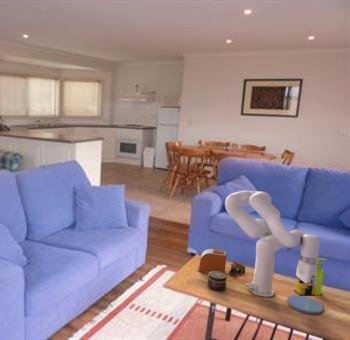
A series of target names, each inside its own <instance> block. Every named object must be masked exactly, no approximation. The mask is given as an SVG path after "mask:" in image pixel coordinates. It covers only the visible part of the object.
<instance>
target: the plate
mask: <svg viewBox="0 0 350 340" xmlns="http://www.w3.org/2000/svg"><path fill="white" fill-rule="evenodd" d="M287 304H288V305H289V306H290V307H291V308H293V309H294V310H297V311H299V312H302V313H306V314H313V315H317V314H322V312H323V311H324V308H323V305H322V304H321V303H319V302H318V301H317V300H315V299H313V298H310V297H309V296H299V295H290V296H288V297H287Z"/></svg>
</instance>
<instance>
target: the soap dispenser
mask: <svg viewBox="0 0 350 340" xmlns="http://www.w3.org/2000/svg"><path fill="white" fill-rule="evenodd" d="M322 261H323V262H329V260H328V259H327V258H323V257H318V260H317V278H316V293H315V296H320V295H321V294H322V288H323V283H324V282H323V281H324V276H325V271H324V269H323V264H322ZM310 282H311V281H310Z"/></svg>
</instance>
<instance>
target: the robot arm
mask: <svg viewBox="0 0 350 340" xmlns="http://www.w3.org/2000/svg"><path fill="white" fill-rule="evenodd" d="M272 201H273V200H272V197H271V195H270V194H269V193H267V192H266V191H258V190H257V191H256V190H239V191H236V192H235V191H234V192H232V193H230V194H229V195H227V196H226V198H225V202H224V203H225V204H224V207H225V210H226V213H227V214H228V215H229V216H230V217H231V218H232V219H233V220H234V222H236V224H237V225H238V226H239V228H241V229H242V231H243V232H244V233H245V235H247V236H248V237H249V238H250V239H257V238H259V239H258V240H257V241H256V245H255V263H254V273H253V278H252V279H253V280H252V281H251V282H249V283H244V284H243V287H244V288H248V290H249V291H250V292H251V293H252V294H254V295H256V296H259V297H263V298H269V297H270V298H271V297H274V295H275V291H274V290H273V289H272V288H273V280H274V272H275V267H276V265H275V264H276V258H275V257H276V256H275V255H276V253H277V252H278V251H280V250H281V249H283V247H286V248H288V249H294V248H296V247H298V246H301V248H300V256H299V259H298V262H297V264H296V265H297V266H296V270H295V276H296V277H297V279H298V280H297V283H306V288H305V296H304V297H312V296H311V295H312V289H313V288H314V287H316V278H317V261H318V258H319V251H320V243H321V238H320V237H319V236H318V235H316V234H312V233H307V232H304V231H302V230H299V229H293V230H290V231H289V230H288V228H286V227H285V225H284V224H283V222H282V220H281V219H282V218H281V212H280V210H278V208H277V207H275V206H274V205H273V204H272ZM244 206H250V207H251V208H252V209H253V210H254V211H255V212H256V213H257V214H258V215H259V216H260V217H261V218H256V219H255V218H254V217H253V216H252V215H251V214H250V213H249V212H248V211H247V210H246V209H244V208H243V207H244ZM310 281H311V282H310ZM309 284H311V285H310V286H309Z"/></svg>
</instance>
